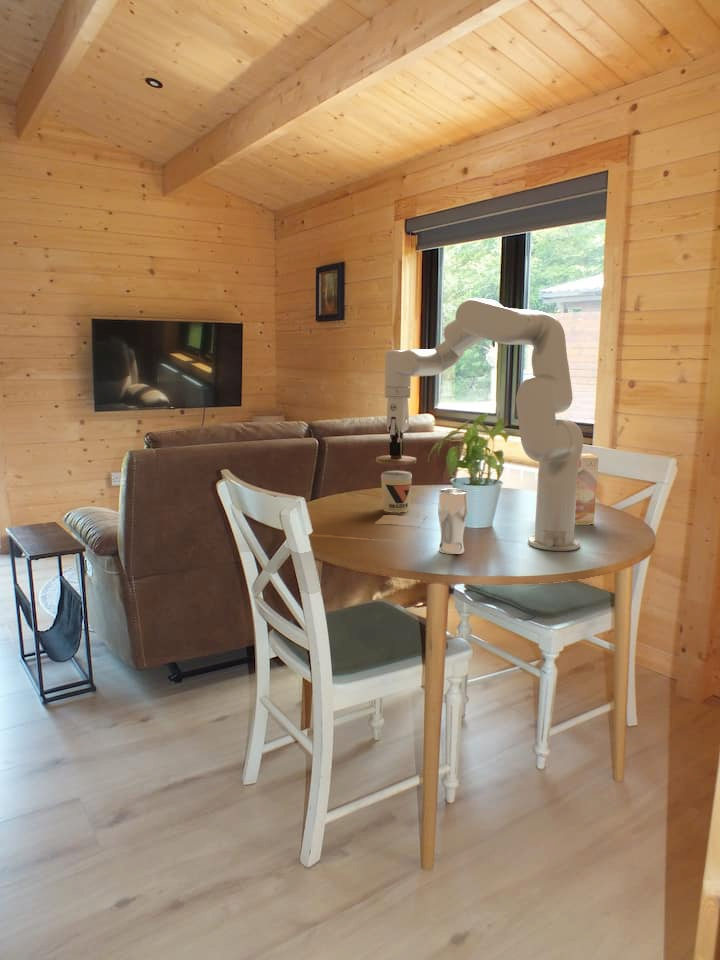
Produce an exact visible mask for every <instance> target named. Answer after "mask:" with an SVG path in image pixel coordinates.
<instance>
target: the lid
mask: <svg viewBox="0 0 720 960" xmlns="http://www.w3.org/2000/svg"><path fill="white" fill-rule="evenodd" d="M400 443H401V455H400V456H390V454H388V455H381V456H376V457H375V462H376V463H378V464H381V465H388V466H390V465H391V466H403V465H405V466H406V465H414V464H416V463H417V457H414V456H409V455H403V454H402V438H400Z"/></svg>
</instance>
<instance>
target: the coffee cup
mask: <svg viewBox="0 0 720 960" xmlns="http://www.w3.org/2000/svg"><path fill="white" fill-rule="evenodd" d="M412 478H413V474H412V473H411V472H410V471H405V470H387V471H382V472H381V474H380V479H381V480H380V482H381V497H382V498H381V499H382V510H383V509H384V510H387V511H392V512H405V511H408V510H409V511H410V504H411V503H410V500H411V491H412V490H411V489H412ZM409 511H408V512H409Z"/></svg>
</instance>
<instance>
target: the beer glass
mask: <svg viewBox="0 0 720 960" xmlns="http://www.w3.org/2000/svg"><path fill="white" fill-rule="evenodd" d="M437 502H438V505H437V507H438V509H437V512H438V513H437V514H438V516H437V517H438V522H439V523H438V524H439V529H440V543H439V547H438V552H439V551H440V552H442V553H441V554H443V553H446V554H445V555H447V554H459V555H462V554H464V553H465V547H464V531H465V526H466V522H467V515H468V490H466V489H461V488H454V487H453V488H441V489H440V490H439V493H438V501H437ZM440 552H439V553H440Z"/></svg>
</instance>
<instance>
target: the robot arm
mask: <svg viewBox="0 0 720 960" xmlns="http://www.w3.org/2000/svg"><path fill="white" fill-rule="evenodd" d="M454 317H455V318H454V320H452V321H451V322H449V323H448V324H447V325H445V327H444V330H443V336H444V341H443V342H442V343H440V344H438V345H437V346H435V347H434V348H430V349H424V348H422V349H421V348H420V349H407V350H405V349H390V350H387V351H386V353H385V355H384V356H385V359H384V362H385V363H384V367H385V368H384V398H385V399H387V403H386V404H387V405H386V409H387V410H386V430H387V432H388V433H389V455H390V456H400V455H401V443H400V438H402V455H403V454H404V432H406V431H409V429H410V425H409V424H410V420H409V417H410V413H409V410H410V409H409V399H411V387H412V385H411V383H412V382H411V378H412V377H431V376H433V377H434V376H436V375H439V374H441V373H443V372H445V371H447V370H449V368H451V367H453V366H454V365H456V364H457V363H458V362H459V361H460V360H461V358H462V357H463V355H464V354H465V352H466V351H467V350H469V349H470V348H472V347H474V346H475V345H477V344H478V343H480V342H482V341H483V340H487V341H491V342H494V343H497V344H503V345H506V346H507V345H509V346H511V345H514V346H516V345H517V346H520V345H521V346H522V345H526V346H528V345H530V346H532V347H533V349H532V354H531V367H532V375H533V376H530V377H527V378H526V379H525V380H523V382H522V383H521V384H520V385H519V387H518V389H517V393H516V397H515V404H516V405H515V406H516V412H517V413H516V414H517V420H518V428H519V436H520V442H521V446H522V449H523V451H524V453H525V454H526V456H527V457H528V458H529V459H531V460H532V461H534V462H538V463H539V462H540V466H539V465H538V473H537V483H536V502H535V503H536V504H535V506H536V507H535V523H534V535H531V536H530V537H528V538H527V539H528V540H527V543H528V544H529V545H530V546H531V547H532V548H536V549H540V550H544V551H550V552H551V551H553V552H554V551H555V552H569V551H575V550H578V549H579V548H580V547H581V542H580V540H578V539H577V538H575V528H576V527H575V526H576V525H575V511H576V495H577V481H578V469H579V462H580V457H581V454H583V452H582V451H583V448H584V435H583V432H582V429H581V427H580V426H579V425H578V424H577V423H576V422H574V421H572V420H570V419H567V418H566V419H565V418H556V415H557V414H560V413H564V412H566V411H567V410H568V409H569V408H570V407H571V405H572V403H573V388H572V381H571V374H570V373H571V372H570V367H569V360H568V354H567V353H568V352H567V344H566V343H567V341H566V334H565V329H564V327H563V326H562V324H561V322H560V321H559V319H557V318H556V317H555V316H553V315H551V314H550V313H546V312H545V311H544V312H543V311H540V310H533V309H532V310H531V309H519V308H509V307H504V306H503V305H502V304H501V303H499V302H498V301H496V300H494V299H487V298H476V297H473V298H468V299H466V300H464V301H463V302H462V303H461V304H459V305H458V307H457V309H456V312H455V316H454Z"/></svg>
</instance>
